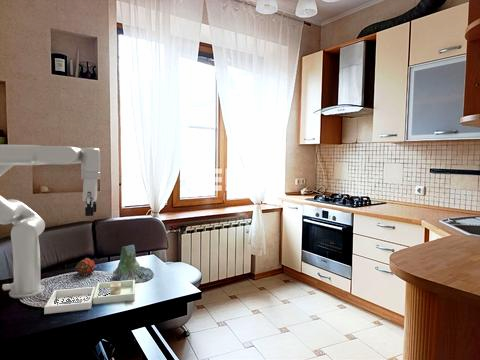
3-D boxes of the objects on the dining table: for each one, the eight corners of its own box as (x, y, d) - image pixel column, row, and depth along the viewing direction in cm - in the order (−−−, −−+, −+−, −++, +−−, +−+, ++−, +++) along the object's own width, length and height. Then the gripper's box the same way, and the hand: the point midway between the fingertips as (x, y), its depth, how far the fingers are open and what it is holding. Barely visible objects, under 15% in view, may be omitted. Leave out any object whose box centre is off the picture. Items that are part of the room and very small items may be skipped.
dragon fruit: (85, 281, 153) (83, 277, 163) (100, 268, 157) (97, 265, 167) (73, 268, 151) (72, 264, 161) (88, 256, 155) (86, 253, 165)
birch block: (110, 296, 133) (110, 287, 133) (111, 292, 137) (111, 283, 137) (120, 295, 134) (120, 286, 134) (120, 291, 138) (120, 282, 138)
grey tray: (44, 315, 117) (44, 307, 117) (54, 297, 132) (54, 290, 132) (90, 309, 122) (90, 302, 122) (95, 293, 137) (95, 286, 136)
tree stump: (130, 288, 144) (123, 249, 144) (106, 287, 155) (99, 251, 156) (161, 275, 159) (154, 239, 159) (137, 275, 170) (131, 242, 171)
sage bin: (93, 305, 126) (93, 297, 125) (97, 289, 141) (97, 282, 140) (134, 300, 130) (134, 293, 130) (134, 286, 145) (134, 279, 145)
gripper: (84, 174, 147) (84, 211, 148) (78, 176, 131) (78, 217, 132) (102, 174, 150) (102, 210, 151) (97, 176, 133) (97, 217, 134)
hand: (91, 213), depth 141 cm, fingers open, 9 cm apart
